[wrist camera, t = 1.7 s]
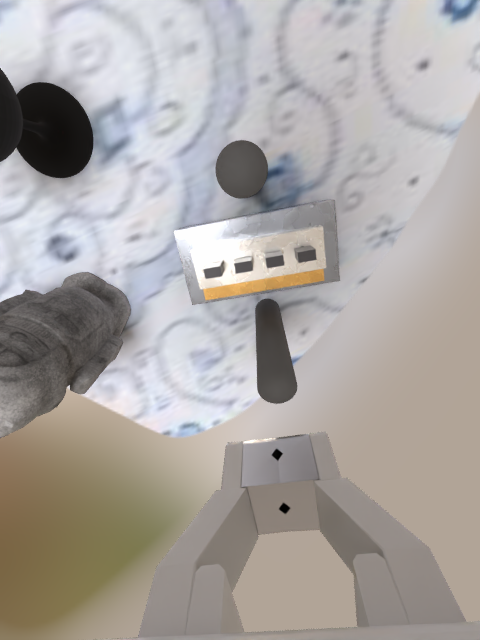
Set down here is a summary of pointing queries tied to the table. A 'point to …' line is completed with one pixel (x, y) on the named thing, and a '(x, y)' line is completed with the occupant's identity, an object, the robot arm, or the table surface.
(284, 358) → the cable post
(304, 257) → the breaker paddles
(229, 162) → the disc
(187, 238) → the breaker panel
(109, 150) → the table surface
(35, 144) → the wine glass
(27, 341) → the figurine
